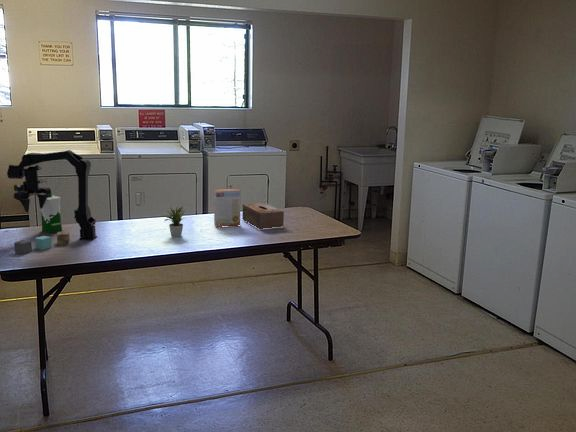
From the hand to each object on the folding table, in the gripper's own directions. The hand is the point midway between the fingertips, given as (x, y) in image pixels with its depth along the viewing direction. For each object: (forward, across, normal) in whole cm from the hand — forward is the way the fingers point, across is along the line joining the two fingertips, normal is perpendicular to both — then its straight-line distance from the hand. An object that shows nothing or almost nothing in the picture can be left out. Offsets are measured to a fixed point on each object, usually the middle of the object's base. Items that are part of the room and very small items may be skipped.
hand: (34, 210), depth 271 cm
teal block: (+14, +13, +16) cm, 25 cm away
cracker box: (+15, -64, +74) cm, 100 cm away
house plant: (+15, -34, +60) cm, 70 cm away
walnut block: (+14, +2, +18) cm, 23 cm away
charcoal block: (+14, +22, +13) cm, 29 cm away
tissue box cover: (+16, -78, +90) cm, 120 cm away
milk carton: (+14, -13, -2) cm, 19 cm away
